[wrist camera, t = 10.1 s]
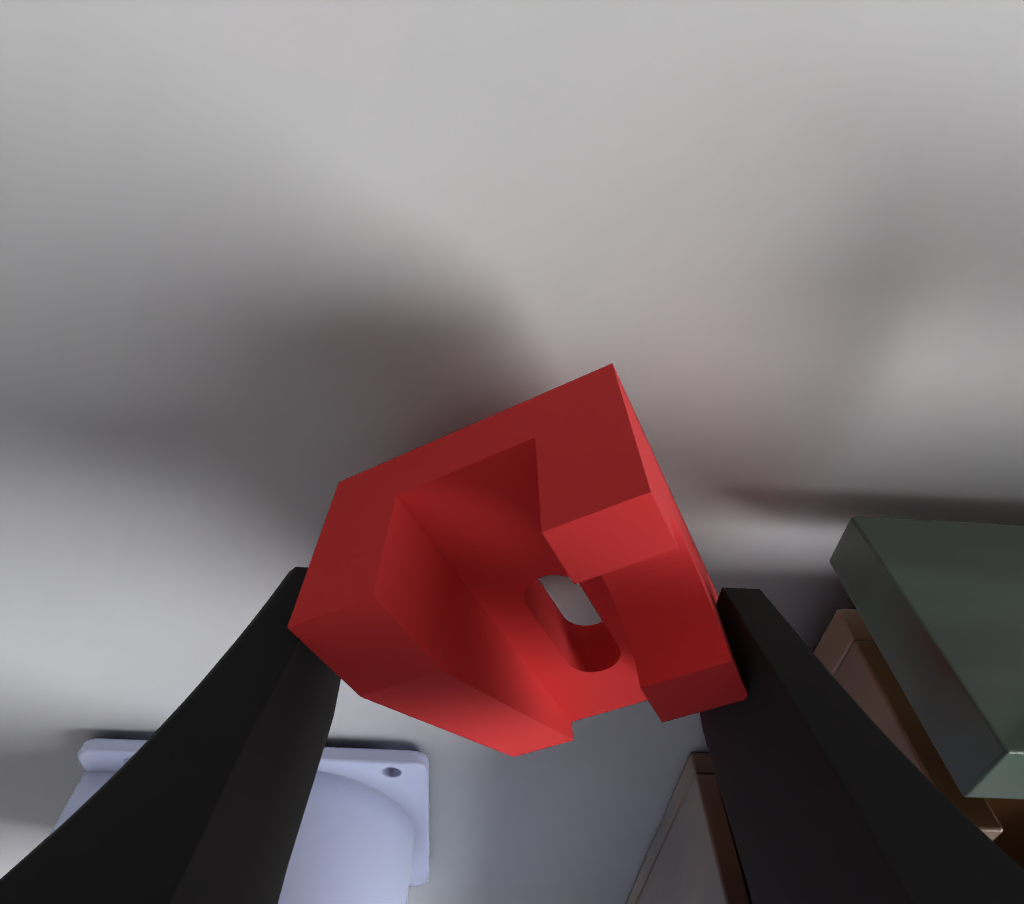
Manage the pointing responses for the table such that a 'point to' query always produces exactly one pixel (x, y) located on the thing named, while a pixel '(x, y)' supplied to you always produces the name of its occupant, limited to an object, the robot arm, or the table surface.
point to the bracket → (518, 578)
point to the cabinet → (692, 846)
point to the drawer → (939, 657)
